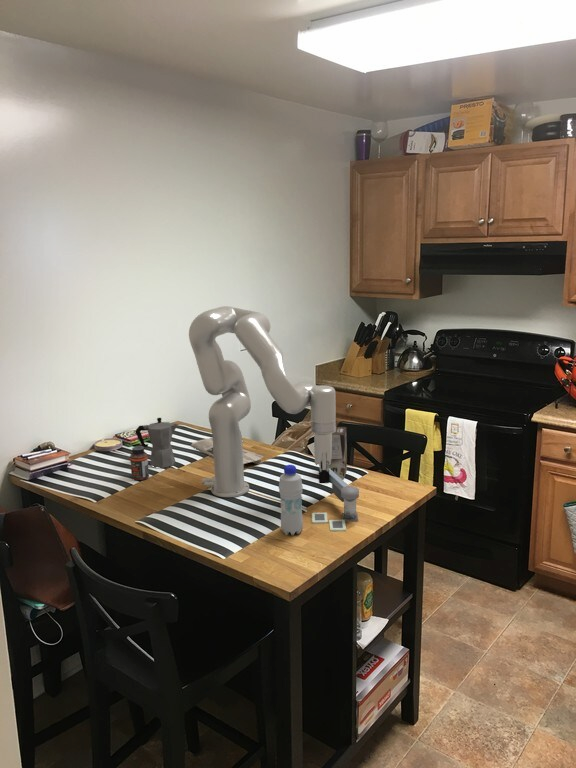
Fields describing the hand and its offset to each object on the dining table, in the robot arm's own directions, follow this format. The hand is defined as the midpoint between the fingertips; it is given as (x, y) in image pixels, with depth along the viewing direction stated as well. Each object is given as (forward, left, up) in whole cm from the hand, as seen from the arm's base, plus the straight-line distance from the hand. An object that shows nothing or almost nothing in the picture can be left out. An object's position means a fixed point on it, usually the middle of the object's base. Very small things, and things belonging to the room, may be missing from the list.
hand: (324, 482), depth 194 cm
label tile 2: (+3, -17, -7) cm, 18 cm away
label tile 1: (-2, -12, -7) cm, 14 cm away
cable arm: (+5, -5, -4) cm, 7 cm away
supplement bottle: (-64, +22, -7) cm, 68 cm away
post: (+7, -12, -7) cm, 15 cm away
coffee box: (+5, +22, -7) cm, 24 cm away
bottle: (-10, -20, -7) cm, 23 cm away
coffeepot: (-60, +35, -7) cm, 70 cm away
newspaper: (-35, +44, -7) cm, 57 cm away
